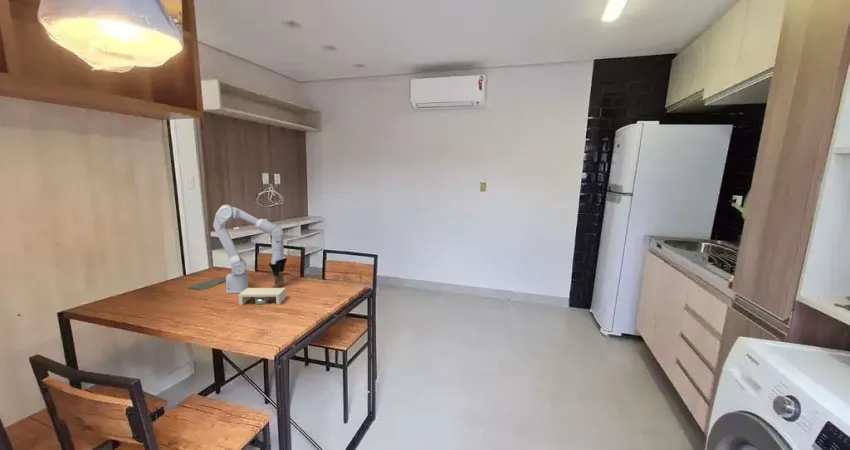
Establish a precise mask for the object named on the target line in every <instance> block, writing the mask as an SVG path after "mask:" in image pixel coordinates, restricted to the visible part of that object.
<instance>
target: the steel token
mask: <svg viewBox="0 0 850 450" xmlns="http://www.w3.org/2000/svg"><path fill="white" fill-rule="evenodd" d="M269 303H270V297H254V304H255V305H257V306H263V305H267V304H269Z"/></svg>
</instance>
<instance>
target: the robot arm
mask: <svg viewBox="0 0 850 450" xmlns="http://www.w3.org/2000/svg"><path fill="white" fill-rule="evenodd" d="M231 218H233V219H242V220H244V221H246V222H248V223H250V224H253V225H254V226H255V227H256V229H257V230H259V231H260V232H261V231H262V232H264V233H265V234H268V235H271V260H270V262H269V264H268V265H269V267H270V268H271V270H272V273H273V274H272V275H273V277H274V276H279V274H280V273H284V271H285V267H286V266H285V265H286V263H287V261H288V258H287V256H285V251H284V250H285V249H284V230H283V228H282V227H281V226H280V225H277V224H276V223H272V222H271V221H269V220H268V219H267V218H259V219H258V218H257V217H255V216H254V215H252V214H249V213H248V212H245V211H244V210H242V209H240V208H238V207H235V206H232V205H229V204H223V205H221V206H220V207H219V208H218V210H217V211H216V213H215V215H214V221H213V225H212V226H213V229H214V231H215V233H216V235H217V237H218V239H219V242H220V243H221V245H222V246H223V249H224V251H225V254H226V255H227V257H228V260H229V263H230V265H231V273H228V274H227V275H226V276H225V277H226V281H225V288H226V291H225V293H226V294H240V293H241V292H243V291H244V290H245V289H247V288H253V287H252V286H249V278H248V277H249V276H248V271H247V262H246V260H244V259H243V258H242V257H241V254H239V252H238V250H237V248H236V246H235V243H234V241H233V240H232V237H231V235H230V233H229V231H228V229H227V227H226V224H227V222H228V221H229V220H230V219H231Z"/></svg>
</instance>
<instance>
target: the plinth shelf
mask: <svg viewBox="0 0 850 450" xmlns="http://www.w3.org/2000/svg"><path fill="white" fill-rule="evenodd" d="M286 290H287V289H286V287H281V288H271V287H252V288H247V289H245V290H244V291H243V292H241V293H238V305H239V306H243V305H244V304H246V303H247V302H248V301H249V300H251V299H252V297H253V298H256V297H269V298H270V297H271V298H273V297H275V305H276V306H280V305H281V304H282V303H283V301H284V300H286V298H287V294H286V292H287V291H286Z"/></svg>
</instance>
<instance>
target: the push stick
mask: <svg viewBox="0 0 850 450" xmlns="http://www.w3.org/2000/svg"><path fill="white" fill-rule="evenodd" d="M273 277H274V284H273V285H272V286H271V287H270V288H283V286H284V285H285V283H284V274H283V273H282V274H280V273H279V276H274V275H273Z"/></svg>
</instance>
